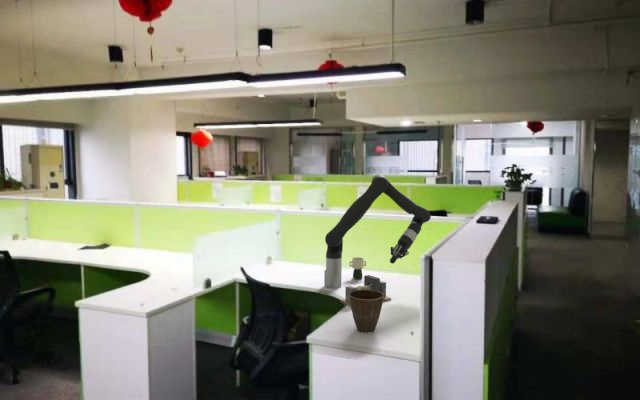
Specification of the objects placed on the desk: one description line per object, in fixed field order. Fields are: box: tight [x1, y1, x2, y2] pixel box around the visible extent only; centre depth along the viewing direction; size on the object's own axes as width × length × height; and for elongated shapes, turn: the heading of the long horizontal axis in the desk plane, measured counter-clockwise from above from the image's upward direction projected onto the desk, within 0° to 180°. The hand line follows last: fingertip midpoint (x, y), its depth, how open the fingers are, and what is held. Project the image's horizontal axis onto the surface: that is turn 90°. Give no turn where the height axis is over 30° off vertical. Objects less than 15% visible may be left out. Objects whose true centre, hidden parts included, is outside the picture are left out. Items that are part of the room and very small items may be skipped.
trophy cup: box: [349, 256, 367, 280], centre depth 302 cm, size 11×7×13 cm, turn 99°
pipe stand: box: [340, 280, 392, 307], centre depth 253 cm, size 25×12×9 cm, turn 126°
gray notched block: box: [363, 274, 381, 292], centre depth 255 cm, size 3×9×9 cm, turn 36°
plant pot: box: [349, 290, 384, 334], centre depth 208 cm, size 15×15×16 cm
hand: (391, 262), depth 262 cm, fingers closed
